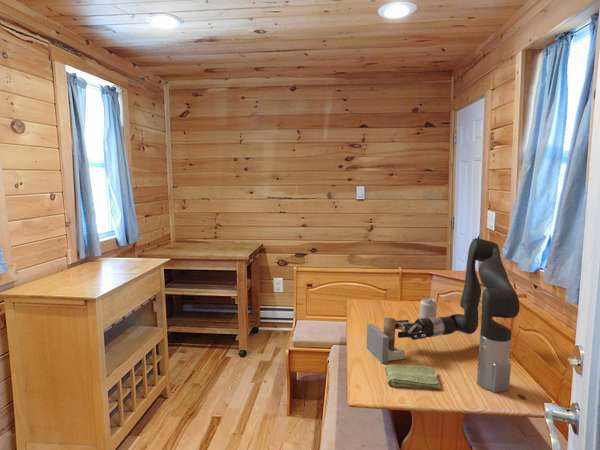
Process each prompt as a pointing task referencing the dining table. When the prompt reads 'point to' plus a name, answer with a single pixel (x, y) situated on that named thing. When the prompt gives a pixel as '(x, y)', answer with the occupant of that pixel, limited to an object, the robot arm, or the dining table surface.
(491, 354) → the robot arm
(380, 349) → the wall
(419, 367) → the washcloth
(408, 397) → the dining table surface
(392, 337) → the dowel
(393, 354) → the bracket
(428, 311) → the can
